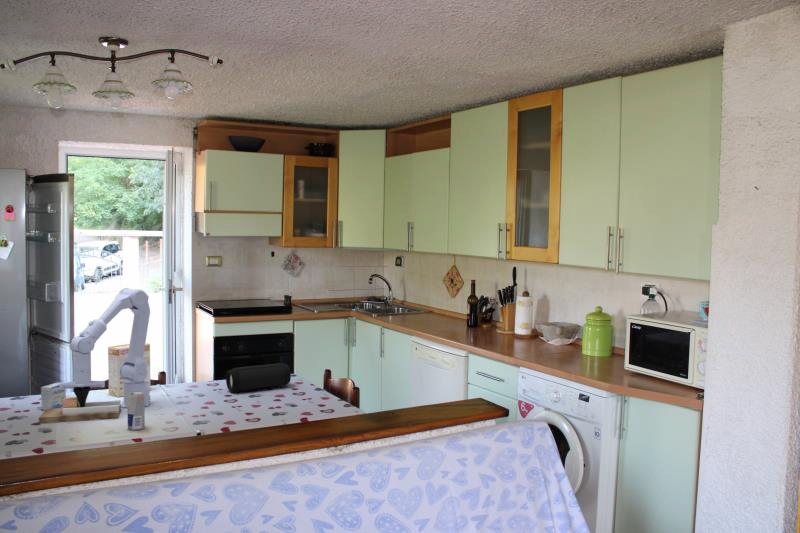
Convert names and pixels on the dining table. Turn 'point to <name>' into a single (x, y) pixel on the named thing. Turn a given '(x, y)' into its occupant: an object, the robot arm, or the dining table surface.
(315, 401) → the dining table surface
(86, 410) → the rails
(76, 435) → the dining table surface
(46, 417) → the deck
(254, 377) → the portable speaker
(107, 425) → the dining table surface
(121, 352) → the coffeecake box
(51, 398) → the medicine box
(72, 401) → the block
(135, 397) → the energy drink
